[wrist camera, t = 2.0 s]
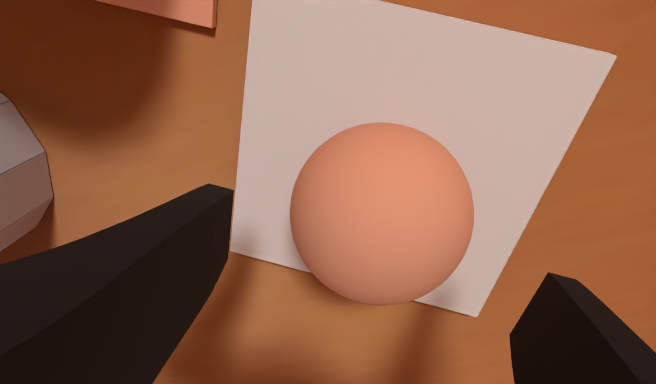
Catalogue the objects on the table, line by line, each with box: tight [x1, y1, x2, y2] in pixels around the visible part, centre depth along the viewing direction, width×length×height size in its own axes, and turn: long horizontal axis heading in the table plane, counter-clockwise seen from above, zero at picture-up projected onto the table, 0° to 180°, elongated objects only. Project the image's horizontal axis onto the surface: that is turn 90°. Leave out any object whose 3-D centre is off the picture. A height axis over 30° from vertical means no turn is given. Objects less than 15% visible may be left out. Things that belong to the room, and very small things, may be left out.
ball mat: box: [230, 0, 617, 317], centre depth 14 cm, size 10×10×1 cm
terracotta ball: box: [290, 122, 474, 306], centre depth 11 cm, size 5×5×5 cm
